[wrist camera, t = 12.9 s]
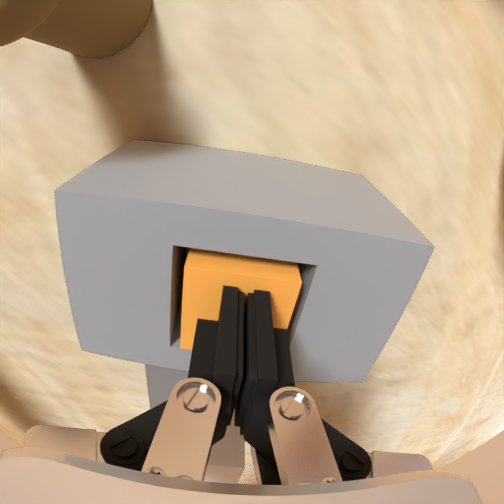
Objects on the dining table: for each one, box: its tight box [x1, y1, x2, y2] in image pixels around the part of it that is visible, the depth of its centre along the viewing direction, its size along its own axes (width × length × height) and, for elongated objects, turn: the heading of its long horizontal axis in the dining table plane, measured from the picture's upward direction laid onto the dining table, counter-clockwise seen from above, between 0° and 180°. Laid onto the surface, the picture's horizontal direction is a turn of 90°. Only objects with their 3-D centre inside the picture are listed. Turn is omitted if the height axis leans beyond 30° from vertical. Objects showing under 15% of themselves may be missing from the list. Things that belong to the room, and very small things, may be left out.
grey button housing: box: [55, 140, 434, 383], centre depth 16 cm, size 15×8×9 cm, turn 80°
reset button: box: [180, 248, 302, 350], centre depth 13 cm, size 4×4×4 cm
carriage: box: [145, 364, 245, 484], centre depth 18 cm, size 9×8×10 cm
